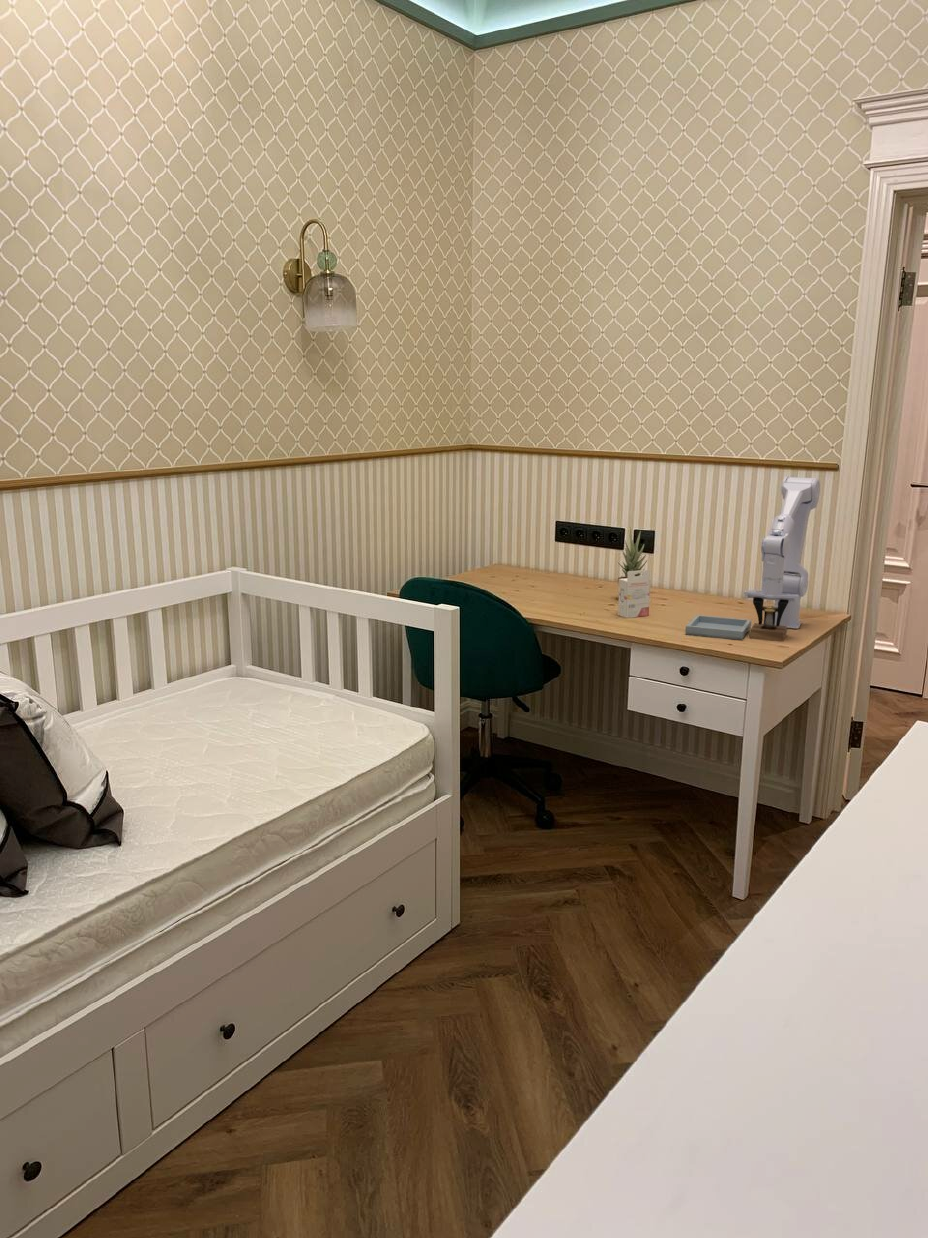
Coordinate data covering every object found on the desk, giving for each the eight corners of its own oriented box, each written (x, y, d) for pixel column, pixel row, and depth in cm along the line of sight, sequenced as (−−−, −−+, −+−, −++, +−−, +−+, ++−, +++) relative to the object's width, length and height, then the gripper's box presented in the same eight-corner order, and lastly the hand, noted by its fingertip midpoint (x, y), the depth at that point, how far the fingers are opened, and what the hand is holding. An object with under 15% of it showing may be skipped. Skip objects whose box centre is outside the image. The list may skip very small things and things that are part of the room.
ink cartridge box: (640, 612, 307) (642, 567, 304) (649, 616, 303) (651, 569, 299) (617, 615, 304) (618, 568, 301) (625, 618, 299) (627, 571, 296)
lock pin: (761, 633, 281) (763, 605, 279) (777, 635, 279) (779, 606, 277) (759, 637, 277) (761, 608, 275) (775, 638, 275) (777, 609, 273)
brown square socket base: (754, 631, 283) (754, 622, 283) (786, 634, 280) (787, 625, 279) (749, 638, 275) (750, 629, 275) (782, 641, 272) (783, 632, 271)
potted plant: (636, 596, 332) (639, 524, 327) (650, 601, 324) (653, 528, 318) (610, 597, 329) (612, 525, 324) (623, 603, 321) (626, 529, 315)
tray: (696, 622, 294) (696, 614, 293) (750, 628, 287) (751, 619, 287) (685, 634, 279) (685, 626, 279) (742, 640, 273) (743, 631, 272)
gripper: (744, 578, 273) (740, 625, 276) (798, 582, 267) (794, 630, 270) (747, 574, 279) (744, 619, 283) (800, 577, 274) (796, 624, 277)
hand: (769, 624), depth 277 cm, fingers closed on lock pin, 4 cm apart
